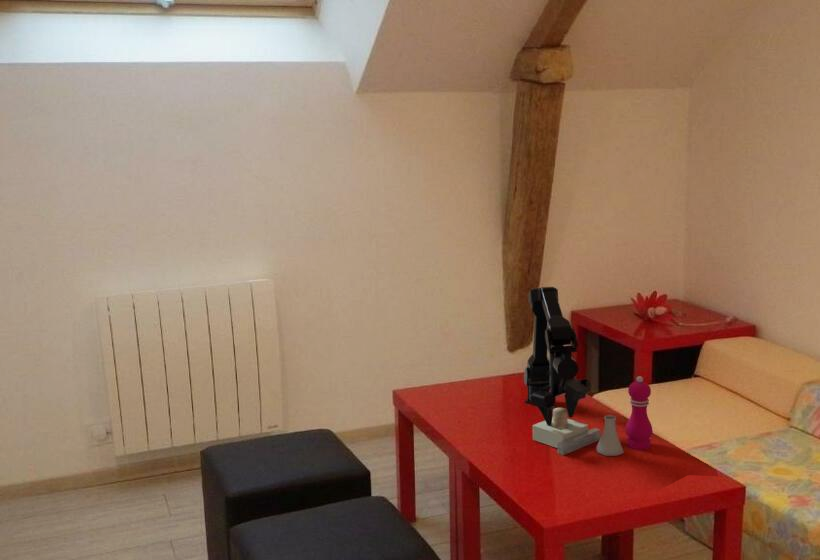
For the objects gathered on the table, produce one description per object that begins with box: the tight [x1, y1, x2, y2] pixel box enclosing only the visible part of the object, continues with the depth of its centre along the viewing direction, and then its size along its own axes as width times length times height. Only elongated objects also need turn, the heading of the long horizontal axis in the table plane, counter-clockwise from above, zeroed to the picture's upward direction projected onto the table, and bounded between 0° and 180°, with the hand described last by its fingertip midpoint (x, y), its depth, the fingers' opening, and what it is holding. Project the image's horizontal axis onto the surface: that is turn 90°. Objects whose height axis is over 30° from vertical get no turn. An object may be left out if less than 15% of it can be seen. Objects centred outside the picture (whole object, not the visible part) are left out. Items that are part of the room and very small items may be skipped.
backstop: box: [556, 427, 601, 456], centre depth 247 cm, size 2×16×3 cm, turn 130°
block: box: [532, 417, 589, 449], centre depth 251 cm, size 11×11×4 cm
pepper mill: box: [625, 375, 654, 451], centre depth 244 cm, size 7×7×20 cm
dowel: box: [552, 407, 569, 430], centre depth 251 cm, size 4×4×9 cm
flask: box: [596, 414, 624, 457], centre depth 242 cm, size 7×7×10 cm
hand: (560, 421), depth 251 cm, fingers open, 9 cm apart
